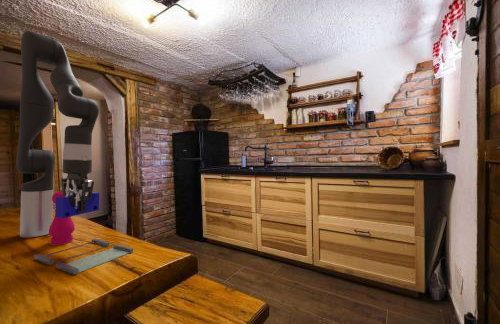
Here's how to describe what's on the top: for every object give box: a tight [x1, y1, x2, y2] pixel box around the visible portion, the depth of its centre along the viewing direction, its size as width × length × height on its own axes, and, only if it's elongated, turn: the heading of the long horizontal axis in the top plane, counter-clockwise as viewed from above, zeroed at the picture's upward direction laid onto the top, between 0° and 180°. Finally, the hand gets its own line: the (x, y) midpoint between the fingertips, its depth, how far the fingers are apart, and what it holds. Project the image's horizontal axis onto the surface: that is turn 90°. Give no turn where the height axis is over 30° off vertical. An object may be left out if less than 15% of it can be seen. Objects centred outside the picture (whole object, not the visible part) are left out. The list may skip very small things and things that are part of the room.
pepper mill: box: [48, 186, 76, 246], centre depth 82 cm, size 7×7×20 cm
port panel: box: [34, 238, 134, 276], centre depth 70 cm, size 21×17×1 cm
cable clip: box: [54, 191, 100, 218], centre depth 74 cm, size 12×4×6 cm, turn 166°
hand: (76, 210), depth 73 cm, fingers closed on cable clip, 5 cm apart
